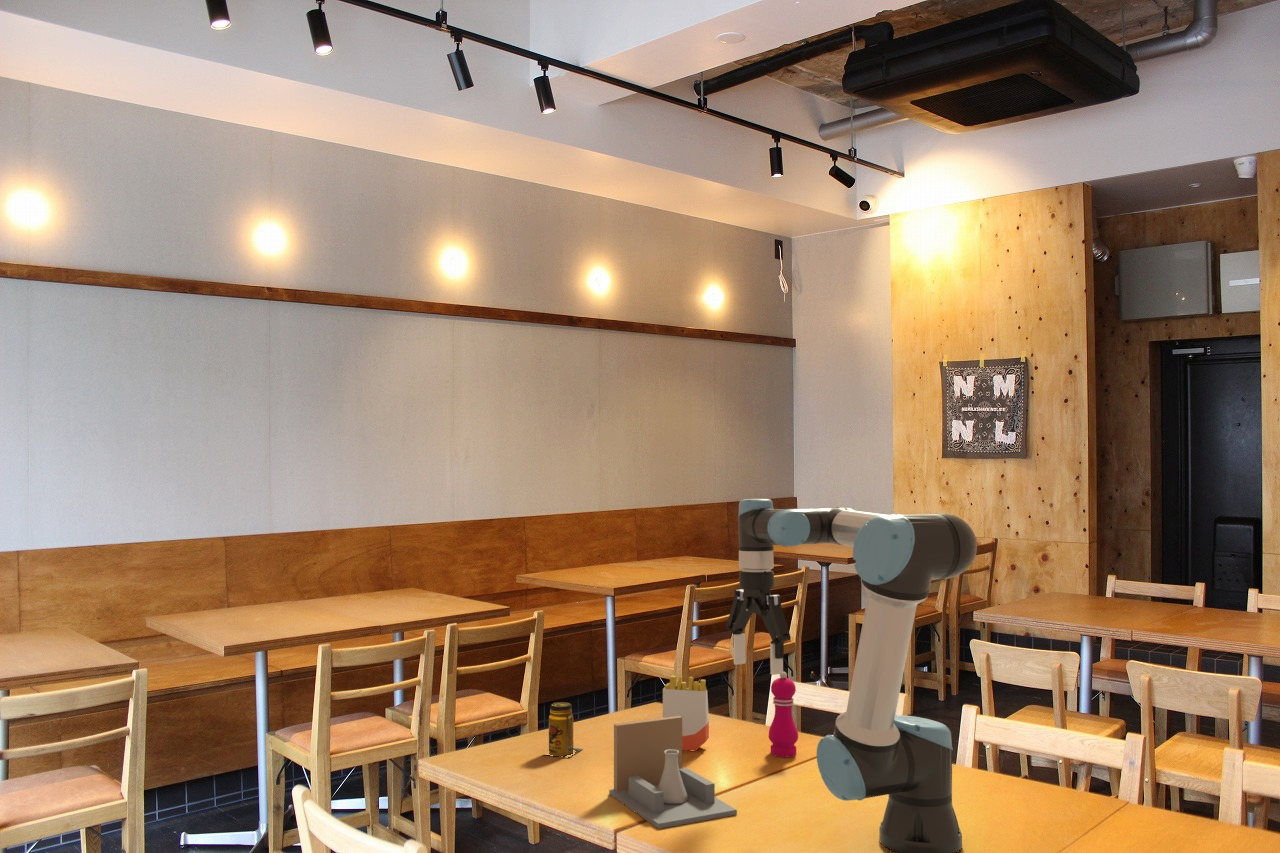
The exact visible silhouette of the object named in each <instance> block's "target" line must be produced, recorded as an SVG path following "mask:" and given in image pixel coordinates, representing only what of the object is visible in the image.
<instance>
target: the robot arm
mask: <svg viewBox="0 0 1280 853" xmlns="http://www.w3.org/2000/svg"><path fill="white" fill-rule="evenodd" d="M738 503H739V504H738V516H737V520H738V521H737V522H738V523H737V524H738V529H737V530H738V568H739V569H740V571H739V573H738V577H739V581H738V582H739V588H741V589H735V590H734V592H733V595H734V596H733V602H732V605H731V609H730V612H729V615H728V619H727V623H726V627H725V628H726V630H727V631H729V630H730V633H731V634H732V648H733V665H736V666H737V665H744V664H746V663H747V660H746V659H747V658H746V657H747V656H746V654H747V653H746V646H747V644H746V634H745V633H746V631H745V628H746V627H747V625H748V623H749V621H750V619H751V617H752V616H753V614H755V615H758V617H760V619H762V622H763V624H764V626H765V628H766V630H767V632H768V634H769V636H770V639H771V641H770V643H769V645H770V646H769V647H770V648H769V650H770V652H769V655H770V657H769V659H770V662H769V663H770V664H769V666H770V675H772V676H774V675H780V674H783V672H784V657H785V654H784V652H785V650H784V649H785V646H784V645H785V643H786V642H788V641H789V642H790V641H791V639H792V637H791V634H790V630H789V627H788V625H787V624H788V623H787V621H786V618H785V615H784V614H785V613H784V611H783V607H782V601H781V595H780V594H771V590H772V589H773V588H774V587H775V573H774V571H773V570H772V569H774V567H775V564H774V563H775V562H774V550H775V549H774V545H776V546H781V547H786V548H787V547H798V546H801V545H815V544H816V545H817V544H833V545H837V546H838V545H839V546H846V547H852V559H853V561H855V562H854V569H855V571H856V573H857V575H858V576H859V577H860V579H861V583H860V584H861V585H862V587H863V589H864V590H865V591H866V592H867V598H866V603H865V609H864V613H863V620H862V626H861V629H860V630H861V631H860V636H859V641H858V646H857V651H856V656H855V662H854V668H853V674H852V679H851V684H850V690H849V695H848V700H847V704H846V705H847V706H846V711H844V712H842V713H841V714H839V715H838V716H837V717H836V718H835V723H834V730H833V734H827V735H825V736H824V737H823V738H820V740H819V741H818V743H817V747H816V762H817V768H818V772H819V773H820V775H821V780H822V782H823V783H824V785H825V786H826V788H827V789H828V791H829V793H831V794H832V795H833V796H834V797H835V798H837V799H839V800H841V801H844V802H845V801H846V802H848V801H862V800H864V799H870V798H874V797H881V796H885V795H886V796H887V795H888V801H887V803H886V807H885V810H884V814H883V818H882V821H881V823H880V824H879V834H878V835H879V837H878V838H879V842H880V843H881V844H882V846H884V847H885V848H887V849H889V850H891V851H894V852H896V853H956V852H958V851H959V850H960V849H961V848H963V834H962V831H961V829H960V827H959V822H958V818H957V815H956V812H955V809H954V806H953V751H954V749H953V746H952V732H951V730H950V728H949V727H948V726H947V725H945V724H944V723H942V722H939V721H936V720H932V719H929V718H925V717H924V718H923V717H919V716H913V715H902V714H901V715H900V714H899V715H898V714H897V715H896V713H897V707H898V703H899V697H900V692H901V687H902V683H903V682H902V681H903V678H904V671H905V669H906V668H905V666H906V662H907V659H908V658H907V657H908V653H909V647H910V643H911V642H910V641H911V636H912V632H913V626H914V622H915V618H916V612H917V607H918V604H920V603H922V602H924V601H926V600H927V599H928V598H929V597H928V596H929V592H930V588H931V583H932V581H936V580H945V579H952V578H955V577H957V576H959V575H961V574H963V573H964V572H965V571H967V570H968V569H969V568H970V567H971V565H972V564H973V562H974V560H975V558H976V555H977V552H978V550H977V549H978V541H977V538H976V535H975V532H974V530H973V529H972V527H971V526H970V525H969V524H968V523H967V522H966V521H965V520H964V519H962V518H960V517H959V516H956V515H953V514H949V513H942V512H941V513H940V512H939V513H915V514H914V513H913V514H911V513H910V514H900V513H891V514H883V513H877V512H876V513H875V512H868V511H859V510H855V509H854V508H851V507H843V506H840V507H839V506H836V507H825V508H824V507H822V508H774V502H773V500H772V499H770V498H743V499H741V500H740V501H739V502H738ZM961 850H962V849H961ZM961 850H960V851H961ZM960 851H959V852H960ZM959 852H958V853H959Z"/></svg>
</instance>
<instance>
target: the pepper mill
mask: <svg viewBox="0 0 1280 853" xmlns="http://www.w3.org/2000/svg"><path fill="white" fill-rule="evenodd" d="M796 688H797V687H796V685H795V683H794V681H793V680H792V679H790V678H788V674H787V672H786V671H783V674H779V677H777V678H776V679H774V680H773V682H772V683H771V685H770V691H771V694H772V695H773V696H774V697H773V698H772V700H773V702H772V704H773V705H774V714H773V715H774V716H773V720H772V722H771V723H770V727H769V729H768V739H769V741H770V742H771V743H772V744H771V745H770V754H771V755H772V756H774V757H779V758H791V757H794V756H796V755H797V746H796V745H795V744H796V743H797V742H798V740H799V730H798V728H797V725H796V723H795V720H794V717H793V710H792V709H793V708H792V707H793V705H794V700H795V699H794V698H793V697H794V695H795V694H796V691H797V689H796Z"/></svg>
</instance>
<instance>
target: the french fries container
mask: <svg viewBox="0 0 1280 853" xmlns="http://www.w3.org/2000/svg"><path fill="white" fill-rule="evenodd" d="M677 677H678V678H677ZM677 679H678V681H677ZM706 681H707V680H706V679H700V681H694V676H689V677H688V687H687V682H685V681H683V676H680V675H679V676H677V675H670V677H669V682H667V683H666V684H664V687H663V688H662V718H665V717H673V716H681V717H682V751H686V750H694V751H693V752H695V751H697V750H698V749H699V748H700V747H701V746H703V745H704V744H705V743H707V740H708V739H709V737H710V736H709V734H710V733H709V732H710V729H709V728H710V723H709V722H710V721H709V720H710V719H709V717H710V716H709V702H708V701H709V698H708V696H709V695H708V689H707V686H706Z"/></svg>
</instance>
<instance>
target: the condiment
mask: <svg viewBox="0 0 1280 853" xmlns="http://www.w3.org/2000/svg"><path fill="white" fill-rule="evenodd" d="M572 709H573V706H572V704H571V703H570V702H562V701H561V702H553V703H551V704H550V710H549V713H550V714H549V716H548V751H549V754H550V755H553V756H567V755H571V754H573V750H575V751H576V752H575V753H576V754H578V753H579V752H581V750H583V749H584V747H574V715H573V710H572ZM553 756H552V757H553ZM565 758H567V759H569V758H568V757H565Z"/></svg>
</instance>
